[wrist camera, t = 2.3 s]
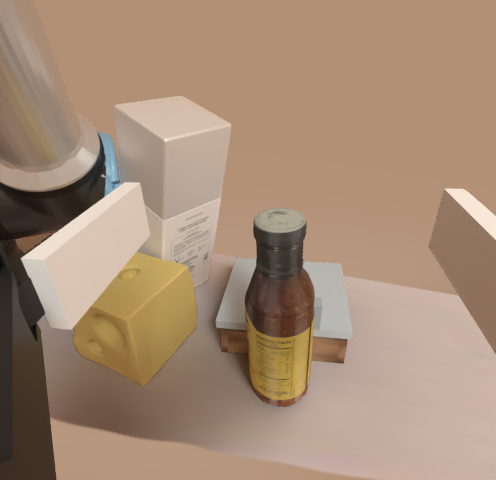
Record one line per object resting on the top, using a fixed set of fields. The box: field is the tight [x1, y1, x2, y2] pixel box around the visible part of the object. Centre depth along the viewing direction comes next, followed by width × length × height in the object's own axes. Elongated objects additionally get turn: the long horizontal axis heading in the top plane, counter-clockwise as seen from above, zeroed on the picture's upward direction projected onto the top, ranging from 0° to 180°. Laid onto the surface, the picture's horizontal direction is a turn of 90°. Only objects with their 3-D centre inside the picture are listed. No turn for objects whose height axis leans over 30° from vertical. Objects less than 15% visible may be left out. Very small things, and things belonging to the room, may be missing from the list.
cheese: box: [73, 252, 197, 386], centre depth 39 cm, size 10×11×10 cm
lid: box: [216, 258, 353, 340], centre depth 41 cm, size 15×13×4 cm
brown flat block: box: [220, 328, 347, 363], centre depth 43 cm, size 14×13×4 cm
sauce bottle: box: [245, 208, 315, 406], centre depth 31 cm, size 6×6×20 cm
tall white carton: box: [115, 96, 231, 288], centre depth 43 cm, size 9×9×25 cm
